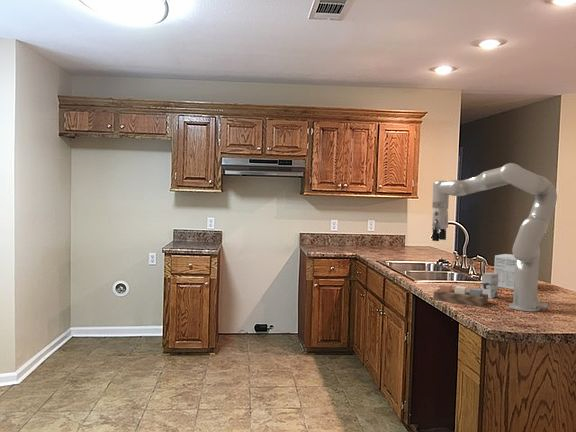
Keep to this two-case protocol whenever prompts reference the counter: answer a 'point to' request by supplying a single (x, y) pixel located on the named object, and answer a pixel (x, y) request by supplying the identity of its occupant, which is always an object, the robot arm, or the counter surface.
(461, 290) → the key ivory
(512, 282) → the supplement box
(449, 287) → the key terracotta
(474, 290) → the key slate
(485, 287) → the ink box
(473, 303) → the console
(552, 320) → the counter surface
